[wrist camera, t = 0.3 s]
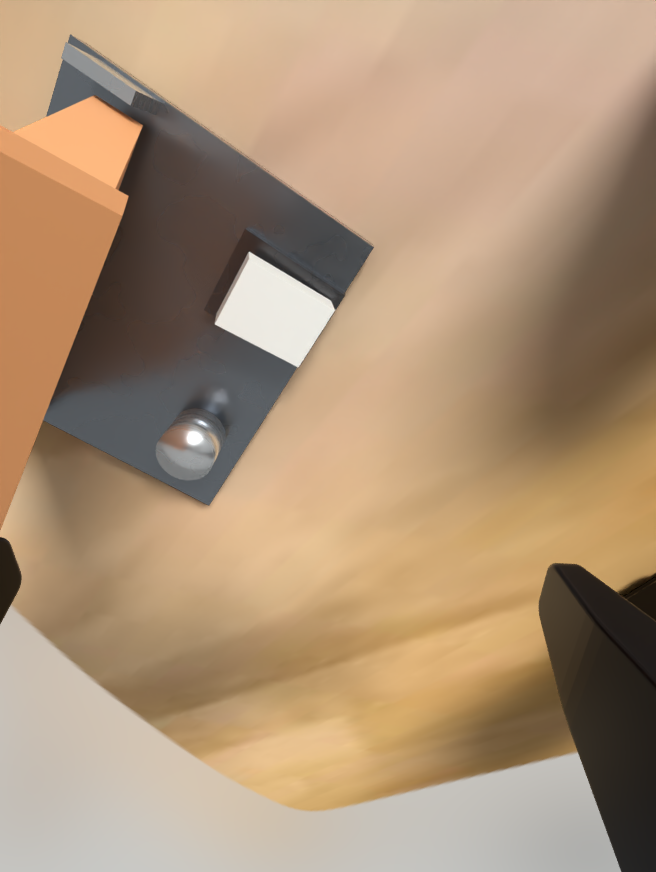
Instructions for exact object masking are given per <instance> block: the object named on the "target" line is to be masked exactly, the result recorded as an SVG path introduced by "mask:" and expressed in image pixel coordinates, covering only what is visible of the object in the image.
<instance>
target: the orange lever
mask: <svg viewBox="0 0 656 872" xmlns="http://www.w3.org/2000/svg"><path fill="white" fill-rule="evenodd" d="M142 127H143V125H142V124H140V123H139V122H137V121H136V120H134V119H132V118H131V117H129V116H128V115H126V114H125V113H123V112H121V111H120V110H118V109H117V108H115V107H113V106H112V105H110V104H109V103H107V102H106V101H104V100H102V99H101V98H99V97H98V96H96V95H94V96H92V97H89V98H87V99H85V100H83V101H81V102H78V103H76V104H74V105H72V106H70V107H67V108H65V109H63V110H61V111H59V112H56V113H54V114H52V115H50V116H48V117H45V118H43V119H41V120H39V121H37V122H34V123H32V124H30V125H28V126H26V127H23V128H21V129H19V130H17V131H15V132H11V131H10V130H8V129H6V128H4V127H2V126H0V530H1V527H2V525H3V522H4V520H5V517H6V514H7V512H8V509H9V507H10V504H11V501H12V499H13V496H14V494H15V491H16V489H17V486H18V483H19V481H20V478H21V476H22V473H23V471H24V468H25V465H26V463H27V460H28V458H29V455H30V453H31V450H32V447H33V445H34V442H35V440H36V437H37V435H38V432H39V429H40V427H41V424H42V422H43V419H44V417H45V414H46V411H47V409H48V406H49V404H50V401H51V399H52V396H53V393H54V391H55V388H56V386H57V383H58V381H59V378H60V375H61V373H62V370H63V368H64V365H65V363H66V360H67V357H68V355H69V352H70V350H71V347H72V345H73V342H74V339H75V337H76V334H77V332H78V329H79V327H80V324H81V321H82V319H83V316H84V314H85V311H86V309H87V306H88V303H89V301H90V298H91V296H92V293H93V291H94V288H95V285H96V283H97V280H98V278H99V275H100V273H101V270H102V267H103V265H104V262H105V260H106V257H107V255H108V252H109V249H110V247H111V244H112V242H113V239H114V236H115V234H116V231H117V229H118V226H119V224H120V221H121V218H122V216H123V213H124V210H125V206H126V203H127V200H128V197H129V196H128V195H126V194H124V193H122V192H120V191H119V188H120V185H121V182H122V180H123V177H124V174H125V172H126V169H127V166H128V164H129V161H130V158H131V156H132V153H133V150H134V148H135V145H136V142H137V140H138V137H139V135H140V132H141V129H142Z"/></svg>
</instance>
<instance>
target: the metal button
mask: <svg viewBox="0 0 656 872" xmlns="http://www.w3.org/2000/svg"><path fill="white" fill-rule="evenodd" d="M225 437H226V433H225V428H224V426H223V424H222V422H221V420H220V419H219V418H218V417H217V416H216V415H214V414H213V413H212V412H210V411H208V410H205V409H201V408H190V409H187V410H184V411H183V412H181V413H180V414H179V415H178V416H177V417H176V418H175V420H174V421H173V422H172V424H171V425H170V426H169V428H168V429H167V430H166V431H165V433H164V434H163V435H162V437H161V438H160V439H159V441H158V443H157V445H156V457H157V460H158V462H159V464H160V466H161V467H162V468H163V469H164V470H165V471H166V472H167V473H168V474H170V475H171V476H173V477H175V478H178V479H181V480H197V479H200V478H202V477H204V476H205V475H207V474H208V473H209V471H210V470H211V468H212V466H213V464H214V462H215V460H216V458H217V456H218V454H219V452H220V450H221V448H222V446H223V444H224V442H225Z"/></svg>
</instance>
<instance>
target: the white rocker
mask: <svg viewBox="0 0 656 872" xmlns="http://www.w3.org/2000/svg"><path fill="white" fill-rule="evenodd" d="M334 311H335V309H334V306H333V304H332V302H331V300H329V299H327V298H326V297H324V296H322V295H321V294H319V293H317V292H316V291H314V290H312V289H311V288H309V287H307V286H306V285H304V284H302V283H301V282H299V281H297V280H296V279H294V278H292V277H291V276H289V275H287V274H286V273H284V272H282V271H281V270H279V269H277V268H276V267H274V266H272V265H271V264H269V263H267V262H266V261H264V260H262V259H261V258H259V257H257V256H256V255H254V254H252V253H251V252H248V254H247V256H246V258H245V260H244V262H243V264H242V266H241V268H240V270H239V272H238V273H237V275H236V277H235V279H234V281H233V283H232V285H231V287H230V289H229V291H228V293H227V295H226V296H225V298H224V300H223V302H222V304H221V306H220V308H219V310H218V312H217V314H216V319H215V325H217V326H219V327H221V328H223V329H225V330H227V331H229V332H231V333H233V334H234V335H236V336H238V337H240V338H242V339H244V340H246V341H248V342H250V343H252V344H254V345H256V346H258V347H260V348H262V349H264V350H265V351H267V352H269V353H271V354H273V355H275V356H277V357H279V358H281V359H283V360H285V361H287V362H289V363H291V364H293V365H295V366H296V367H299V366H300V364H301V363H302V361H303V360H304V358H305V356H306V355H307V353H308V352H309V350H310V349H311V347H312V345H313V344H314V342H315V341H316V339H317V338H318V336H319V335H320V333H321V331H322V330H323V328H324V327H325V325H326V324H327V322H328V320H329V319H330V317H331V316H332V314H333V313H334Z"/></svg>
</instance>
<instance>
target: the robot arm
mask: <svg viewBox="0 0 656 872" xmlns="http://www.w3.org/2000/svg"><path fill="white" fill-rule="evenodd" d="M21 580H22V576H21V571H20V569H19V566H18V563H17V560H16V558H15V555H14V552H13V549H12V547H11V544H10V542H9V541H8V540H6V539H5V538H2V537H0V624H1V622H2V620H3V618H4V616H5V615H6V613H7V611H8V609H9V607H10V605H11V603H12V602H13V600H14V598H15V596H16V594H17V592H18V590H19V588H20V585H21ZM539 616H540V620H541V624H542V628H543V632H544V636H545V640H546V644H547V648H548V652H549V656H550V660H551V664H552V668H553V672H554V676H555V680H556V685H557V689H558V693H559V696H560V700H561V704H562V707H563V711H564V714H565V717H566V720H567V723H568V726H569V729H570V732H571V734H572V737H573V740H574V743H575V745H576V748H577V751H578V754H579V756H580V759H581V762H582V764H583V767H584V770H585V773H586V776H587V778H588V781H589V784H590V786H591V789H592V792H593V795H594V798H595V800H596V803H597V806H598V809H599V811H600V814H601V817H602V820H603V822H604V825H605V828H606V831H607V833H608V836H609V839H610V842H611V844H612V847H613V850H614V853H615V856H616V858H617V861H618V864H619V867H620V869H621V872H656V577H655V578H653V579H651V580H650V581H648V582H647V583H645V584H643V585H642V586H640V587H638V588H637V589H635V590H633V591H632V592H630V593H629V594H627V595H625V596H624V597H622V596H621V595H620V594H618V593H617V592H616V591H614V590H613V589H611V588H610V587H609V586H607V585H606V584H605V583H603V582H602V581H601V580H599V579H598V578H596V577H595V576H594V575H592V574H591V573H590V572H588V571H587V570H586V569H584V568H583V567H581V566H579V565H577V564H564V563H554V564H552V565H550V566H549V568H548V570H547V573H546V577H545V581H544V585H543V588H542V592H541V596H540V599H539Z"/></svg>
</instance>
